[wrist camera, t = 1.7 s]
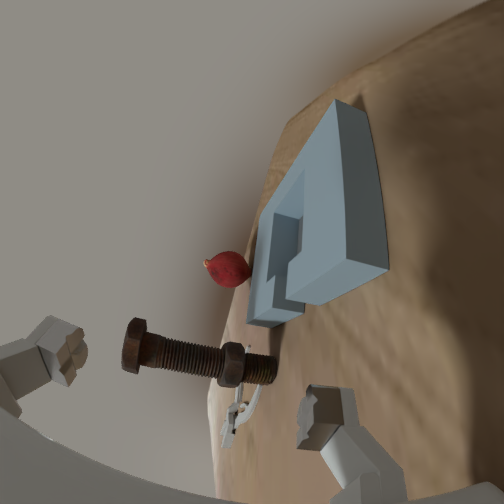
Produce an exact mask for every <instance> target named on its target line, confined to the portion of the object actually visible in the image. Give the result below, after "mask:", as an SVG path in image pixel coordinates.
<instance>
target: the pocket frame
mask: <svg viewBox="0 0 504 504" xmlns="http://www.w3.org/2000/svg"><path fill="white" fill-rule="evenodd" d="M302 216H303V217H302ZM301 217H302V218H301ZM300 218H301V219H300ZM299 219H300V220H299ZM388 270H389V262H388V249H387V238H386V228H385V218H384V210H383V202H382V195H381V188H380V181H379V175H378V169H377V163H376V158H375V152H374V147H373V142H372V137H371V132H370V128H369V123H368V119H367V114H366V112H364V111H361V110H359V109H357V108H355V107H353V106H350V105H348V104H346V103H344V102H341V101H339V100H337V99H334V101H333V102H332V104H331V105H330V107H329V108H328V110H327V111H326V113H325V115H324V116H323V118H322V119H321V121H320V122H319V124H318V125H317V127H316V129H315V130H314V132H313V133H312V135H311V136H310V138H309V139H308V141H307V143H306V144H305V146H304V147H303V149H302V150H301V152H300V153H299V155H298V157H297V158H296V160H295V161H294V163H293V164H292V166H291V168H290V169H289V171H288V172H287V174H286V175H285V177H284V179H283V180H282V182H281V183H280V185H279V186H278V188H277V190H276V191H275V193H274V194H273V196H272V197H271V199H270V201H269V202H268V204H267V205H266V207H265V209H264V210H263V212H262V213H261V215H260V219H259V227H258V235H257V243H256V250H255V258H254V266H253V273H252V281H251V289H250V296H249V304H248V311H247V319H246V324H250V325H255V326H261V327H267V328H273V327H275V326H277V325H280V324H282V323H284V322H286V321H288V320H291V319H293V318H295V317H297V316H299V315H301V314H304V305H305V303H308V304H314V305H319V306H320V305H322V304H324V303H326V302H329V301H331V300H333V299H335V298H337V297H339V296H341V295H343V294H345V293H347V292H349V291H350V290H352V289H354V288H356V287H358V286H360V285H362V284H364V283H366V282H368V281H370V280H372V279H374V278H375V277H377V276H379V275H381V274H383V273H385V272H387V271H388Z"/></svg>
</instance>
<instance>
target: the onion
mask: <svg viewBox="0 0 504 504" xmlns="http://www.w3.org/2000/svg"><path fill="white" fill-rule="evenodd" d="M204 265H205V267H206V268H207V269H208V271H209V273H210V275H211V277H212V278H213V279H214V281H215V282H216V283H217V284H219V285H221V286H223V287H227V288H233V287H237V286H239V285H240V284H242V283H243V282H245V281H246V280H247V279H248V278H249V277H250V276H251V274H252V271H251V269H250V268H249V266H248V264H247V262H246V261H245V259H244V258H243V257H242V256H241V255H240V254H238V253H236V252H232V251H227V252H222V253H220V254H218V255H216V256H215V257H213V258H212V259H211V260H207V259H206V260H204Z"/></svg>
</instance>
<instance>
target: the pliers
mask: <svg viewBox="0 0 504 504" xmlns="http://www.w3.org/2000/svg"><path fill="white" fill-rule="evenodd" d="M249 351H250V346H247V348H246V350H245V353H249ZM261 389H262V384H261V385H260V384H258V386H257V388H256V391H255V393H254V395H253V397H252V399H251V401H250V403H249V405H248V404H246V403H243V404H241V405H240V408H243V407H244V406H245V408H246V410H245V411H244V412H242V413H239V414H238V416H237V417H236V415H234V414H233V413H235V412H237V411H238V407H239V402H240V401H242V394H243V382H241V383H240V385H239V386H238V387H236V393H235V402H234V403H233V404H232V405H231V406H230V407H229V408H228V409H227V413H226V420H225V421H224V424H223V427H222V430H221V435H222V436H223V441H222V445H221V446H222V448H231V445H232V442H233V439H234V436H235V434H234V431H233V430H235V428H236V429H237V428H238V426H239V425H240V424H241V423H245V422H246V421H247V420H248V419H249V417H250V416H251V414H252V413H253V411H254V409H255V406H256V404H257V402H258V399H259V396H260V393H261Z"/></svg>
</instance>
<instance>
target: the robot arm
mask: <svg viewBox="0 0 504 504" xmlns="http://www.w3.org/2000/svg"><path fill="white" fill-rule="evenodd" d="M83 337H84V332H83V329H82V328H80V327H77V326H75V325H72V324H70V323H68V322H65V321H63V320H61V319H58V318H56V317H54V316H51V315H50V316H47V317H46V318H45V319H44V320H43V321H42V322H41V323H40V324H39V325H38V326H37V327H36V329H35V330H34V331H33V332H32V333H31V334H30V335H29V336H28V337H27V338H26V339H19V340H17V341H14V342H11V343H8V344H5V345H2V346H0V504H247V503H240V502H233V501H227V500H222V499H216V498H211V497H206V496H202V495H197V494H193V493H188V492H184V491H181V490H177V489H173V488H170V487H166V486H163V485H159V484H156V483H153V482H150V481H147V480H144V479H141V478H138V477H135V476H132V475H129V474H127V473H124V472H121V471H119V470H116V469H113V468H111V467H109V466H106V465H104V464H101V463H99V462H97V461H95V460H92V459H90V458H88V457H86V456H84V455H82V454H80V453H78V452H76V451H74V450H72V449H69V448H68V447H66V446H64V445H62V444H60V443H58V442H56V441H54V440H52V439H51V438H49V437H47V436H45V435H44V434H42V433H40V432H39V431H37V430H35V429H34V428H32V427H30V426H29V425H27V424H26V423H24V422H23V421H21V420H19V419H18V418H19V416H20V415H21V413H22V409H21V407H20V406H19V404H18V403H17V401H16V400H18V399H20V398H21V397H23V396H25V395H27V394H29V393H30V392H32V391H34V390H36V389H37V388H39V387H41V386H43V385H44V384H46V383H48V382H50V381H51V380H53V381H55V382H58V383H60V384H62V385H64V386H67V387H69V386H70V384H71V383H72V382H73V380H74V378H75V377H76V370H77V369H80V368H82V367H83V365H84V364H85V362H86V359H87V356H88V348H87V345H86V343H85V342H84V340H83ZM297 423H298V425H299V426H300V429H299V430H298V432H297V449H302V450H312V451H320V453H321V455H322V457H323V458H324V460H325V461H326V463H327V465H328V466H329V468H330V469H331V471H332V473H333V474H334V476H335V477H336V479H337V480H338V482H339V484H340V485H341V487H342V488H343V490H342V491H340V492H339V493H338V494H337V495H335V496H334V497H333V498H331V499H330V504H504V492H503V491H501V490H500V489H499V488H498V487H496V486H495V485H493V484H492V483H490V482H482V483H478V484H475V485H472V486H469V487H466V488H463V489H459V490H455V491H452V492H448V493H444V494H440V495H436V496H431V497H426V498H421V499H416V500H411V501H408V498H407V491H406V485H405V479H404V474H403V469H402V468H401V467H400V466H399V465H398V464H397V463H396V462H395V461H394V459H393V458H392V457H391V456H390V455H389V454H388V453H387V452H386V451H385V450H384V448H383V447H382V446H381V445H380V444H379V443H378V442H377V441H376V440H375V438H374V437H373V436H372V435H371V434H370V433H369V432H368V431H367V430H366V428H365V427H364V426H360V424H359V418H358V411H357V405H356V400H355V394H354V390H353V389H352V388H342V387H333V386H323V385H314V384H310V385H309V386H308V388H307V390H306V397H304V398H302V400H301V402H300V405H299V409H298V414H297Z"/></svg>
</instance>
